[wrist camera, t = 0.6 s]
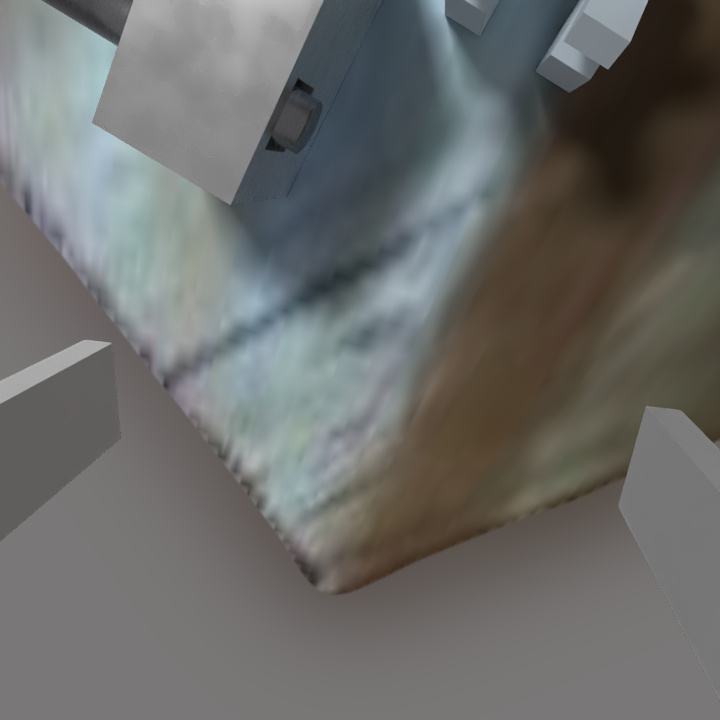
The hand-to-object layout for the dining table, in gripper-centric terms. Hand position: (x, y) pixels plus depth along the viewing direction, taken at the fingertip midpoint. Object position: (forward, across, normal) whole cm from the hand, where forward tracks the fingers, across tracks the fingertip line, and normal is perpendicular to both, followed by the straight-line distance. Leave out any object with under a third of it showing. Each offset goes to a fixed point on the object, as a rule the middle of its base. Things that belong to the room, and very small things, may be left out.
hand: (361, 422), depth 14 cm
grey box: (+27, -9, +12) cm, 31 cm away
